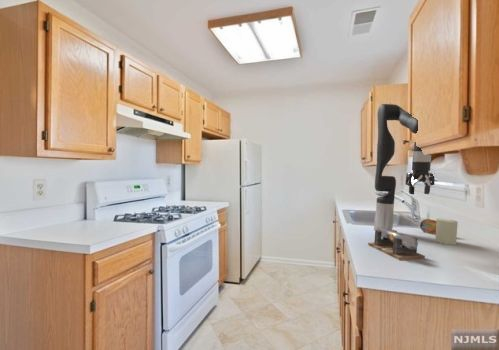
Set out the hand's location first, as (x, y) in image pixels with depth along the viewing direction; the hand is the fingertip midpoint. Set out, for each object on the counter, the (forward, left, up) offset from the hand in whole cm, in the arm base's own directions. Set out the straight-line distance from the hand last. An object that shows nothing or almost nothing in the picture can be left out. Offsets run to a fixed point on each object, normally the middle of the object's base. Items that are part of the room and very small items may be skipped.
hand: (419, 194), depth 130 cm
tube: (+6, -17, -22) cm, 28 cm away
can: (-4, +23, -26) cm, 35 cm away
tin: (-18, +31, -26) cm, 44 cm away
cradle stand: (+6, -17, -26) cm, 32 cm away
